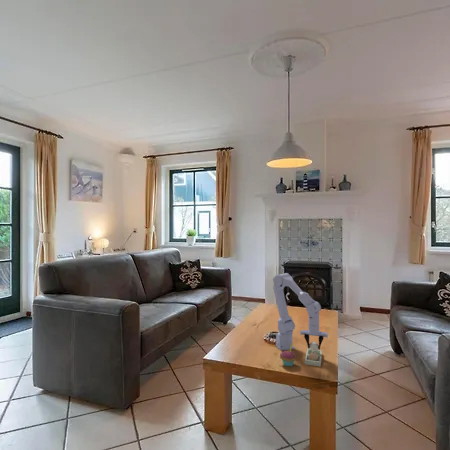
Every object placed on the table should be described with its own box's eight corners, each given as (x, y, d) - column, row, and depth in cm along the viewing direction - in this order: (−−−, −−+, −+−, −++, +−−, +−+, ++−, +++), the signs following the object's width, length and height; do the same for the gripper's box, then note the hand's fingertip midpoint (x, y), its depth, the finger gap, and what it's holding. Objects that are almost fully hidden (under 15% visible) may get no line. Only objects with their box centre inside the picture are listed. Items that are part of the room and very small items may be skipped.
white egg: (311, 353, 170) (311, 344, 170) (307, 349, 174) (307, 340, 174) (320, 352, 171) (320, 343, 170) (316, 348, 175) (315, 340, 175)
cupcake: (294, 361, 167) (294, 339, 167) (298, 368, 159) (298, 345, 159) (278, 361, 167) (278, 339, 167) (281, 368, 159) (281, 345, 159)
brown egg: (311, 364, 162) (311, 354, 162) (306, 360, 167) (306, 351, 167) (319, 363, 163) (319, 354, 163) (315, 359, 168) (315, 350, 168)
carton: (320, 367, 160) (320, 362, 160) (304, 365, 163) (304, 360, 163) (321, 354, 175) (321, 350, 175) (307, 352, 178) (307, 348, 178)
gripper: (327, 323, 174) (327, 347, 174) (301, 320, 179) (301, 344, 179) (327, 327, 167) (327, 352, 167) (300, 324, 172) (300, 349, 172)
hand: (314, 348), depth 172 cm, fingers closed on white egg, 5 cm apart
